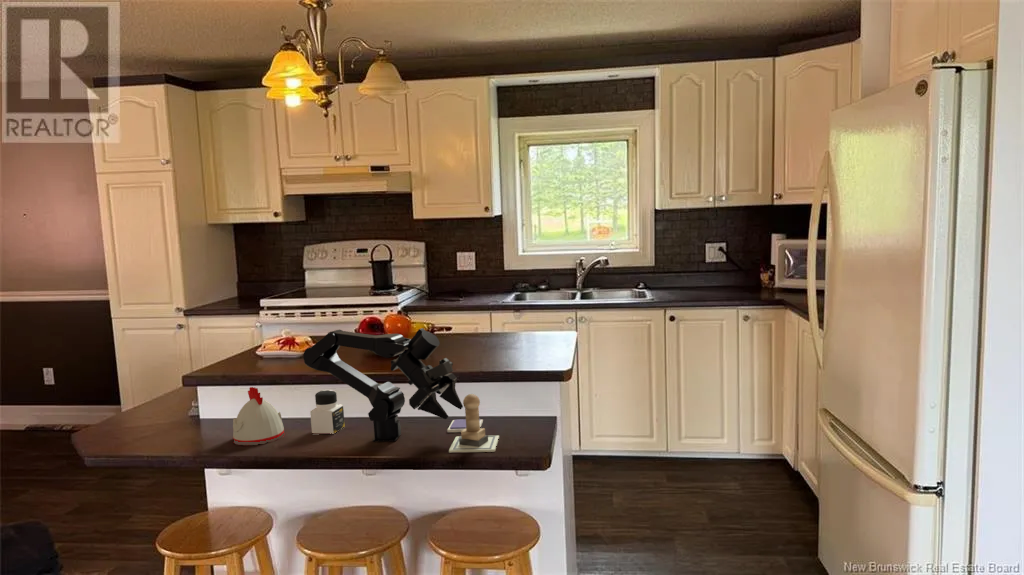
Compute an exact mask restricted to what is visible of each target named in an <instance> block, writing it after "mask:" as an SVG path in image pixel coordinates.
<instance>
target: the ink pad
mask: <svg viewBox="0 0 1024 575" xmlns="http://www.w3.org/2000/svg"><path fill="white" fill-rule="evenodd" d="M483 422H484V419H481V418H479V423H480V427H481V428H482V425H483ZM464 429H466V418H465V419H462V418H461V419H460V418H459V419H453V420H452V421H451V423H450V424H449V427H448V428H447V429H446V431H447V433H461V431H463V430H464Z"/></svg>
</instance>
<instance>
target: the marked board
mask: <svg viewBox="0 0 1024 575" xmlns="http://www.w3.org/2000/svg"><path fill="white" fill-rule="evenodd" d="M460 438H462V435H460V436H455V438H454V440H453V442H452V443H451V445H450V447H449V449H448V453H449V454H450V453H485V452H487V453H491V452H492V453H495V452H496V449H497V447H498V443H499V440H500V435H488V441H487V442H486V443H484V444H483V445H481V446H480V447H476V446H468V445H459V439H460ZM498 439H499V440H498ZM496 446H497V447H496Z"/></svg>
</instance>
